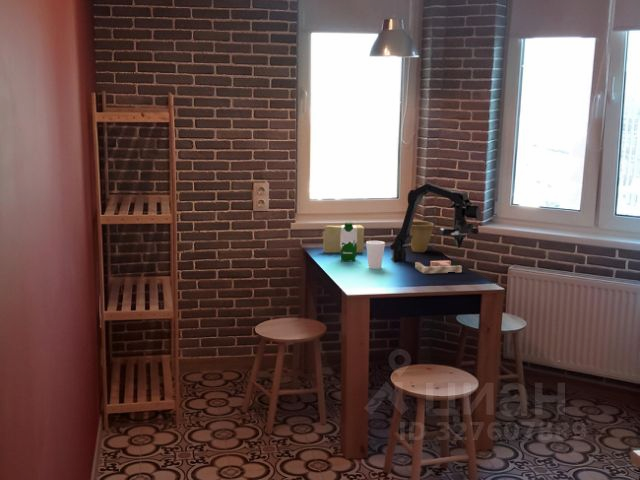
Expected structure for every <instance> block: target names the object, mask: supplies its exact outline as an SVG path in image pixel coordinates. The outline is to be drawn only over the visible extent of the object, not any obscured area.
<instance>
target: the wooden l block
mask: <svg viewBox="0 0 640 480" xmlns="http://www.w3.org/2000/svg"><path fill="white" fill-rule="evenodd" d="M414 269H416V270H418V272H420V273H422V274H423V275H424V274H447V273H448V272H455V273H462V271H463V270H462V269H463V267H462V265H451V266H430V265H429V266H426V265H424V264H422V263H421V262H420V261H416V262H415V263H414ZM448 274H449V273H448Z"/></svg>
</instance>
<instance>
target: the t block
mask: <svg viewBox="0 0 640 480" xmlns="http://www.w3.org/2000/svg"><path fill="white" fill-rule="evenodd" d="M429 262H430V265H429V267H430V266H452V261H451V260H430V261H429Z"/></svg>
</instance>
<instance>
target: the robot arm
mask: <svg viewBox="0 0 640 480" xmlns="http://www.w3.org/2000/svg"><path fill="white" fill-rule="evenodd" d="M428 193H432V194H434V195H438V196H441V197H443V198H446V199H449V201H450V202H452V204H451V205H450V208H451V209H453V211H454V212H453V218H452V221H453V226H452V228H449V227H440V230H439V234H441V235H443V236H450V235H451V236H452V237H453V240H454V242H455V244H456V247H457V249H460V248H461V245H462V243H463V241H464V239H465V238H466V237H468V235H469V234H470V233H472V235H479V233H480V230H479V228H478V227H475V226H474V225H473V223H468V221H467V219H475V220H480V218H481V215H482V209H481V208H480V205H479V204H472V203H473V202H471V200H470V199H469V196H468V194H467V192H465V191H460V190H452V189H448V188H445V187H443V186H439V185H437V184H433V183H432V182H428V183H424V184H423V185H420V186H419V187H417V188H416V189H414V188H413V189H411V190H409V191H408V194H407V207H406V211H405V216H404V218H403V221H402V224H401V225H402V226H401V229H400V231H399V232H398V233H397V235H396V237H395V239H394V241H393V243H391V244H390V245H389V246H390V250H391V251H392V252H391V254H392V255H391V258H390V260H392V261H393V262H407V260H406V259H407V252H406V249H407V248H408V246H409V245H410V243H411V239H412V237H413V236H412V235H410V229H411V226H412V223H413V221H414V219H415V215H416V211H417V208H418V206H419V205H420V204H421V203H422V200H423V198H424V196H425V195H427V194H428ZM466 218H467V219H466Z"/></svg>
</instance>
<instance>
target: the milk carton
mask: <svg viewBox="0 0 640 480" xmlns="http://www.w3.org/2000/svg"><path fill="white" fill-rule="evenodd" d="M353 225H354V224H353V222H345V223H344V224H342V225H341V226H342V227H341V235H340V259H341V260H340V261H343V262H345V261H346V262H355V261H356V257H357V253H356V251H357V227H356V226H353Z"/></svg>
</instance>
